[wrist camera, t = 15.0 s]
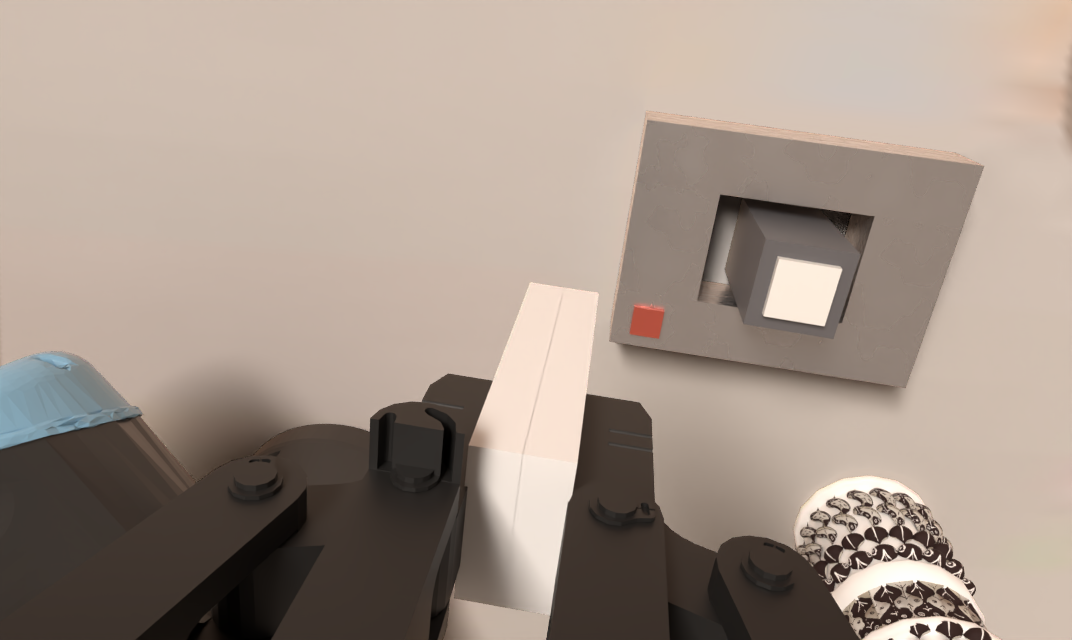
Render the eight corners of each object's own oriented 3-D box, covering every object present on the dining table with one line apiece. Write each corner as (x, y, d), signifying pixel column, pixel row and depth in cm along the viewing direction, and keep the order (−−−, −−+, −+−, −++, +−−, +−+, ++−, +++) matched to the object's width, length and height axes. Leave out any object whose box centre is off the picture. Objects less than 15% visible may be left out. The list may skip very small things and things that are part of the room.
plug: (799, 281, 42) (835, 342, 35) (724, 269, 43) (744, 327, 35) (820, 209, 41) (863, 256, 33) (742, 197, 41) (767, 241, 33)
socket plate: (885, 359, 44) (907, 390, 40) (611, 317, 45) (609, 343, 41) (955, 152, 39) (986, 167, 35) (646, 110, 40) (647, 120, 36)
